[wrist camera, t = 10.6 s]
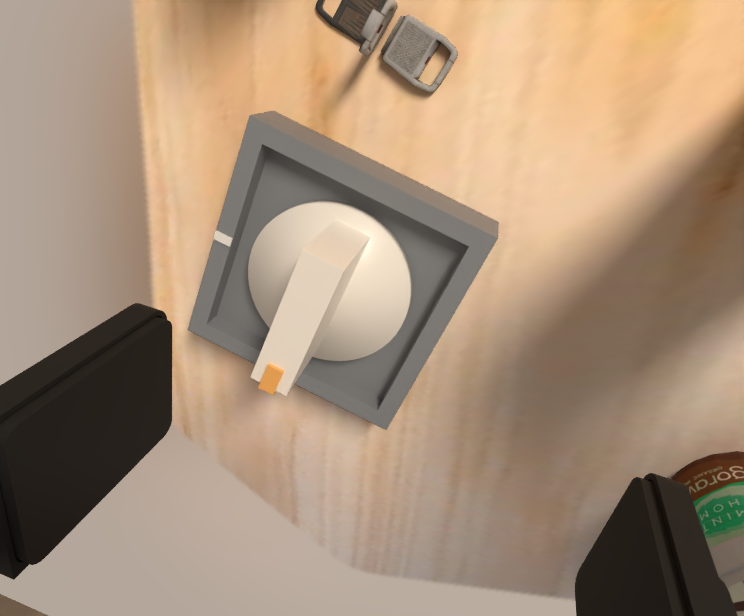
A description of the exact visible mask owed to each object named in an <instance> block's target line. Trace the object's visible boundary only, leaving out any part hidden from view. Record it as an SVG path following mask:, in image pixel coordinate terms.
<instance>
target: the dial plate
mask: <svg viewBox="0 0 744 616" xmlns="http://www.w3.org/2000/svg"><path fill="white" fill-rule="evenodd" d="M317 200H332V201H338V202H343V203H347V204H350V205H353V206H356V207H358V208H360V209H362V210H364V211H366V212H368V213H369V214H371V215H373V216H374V217H375V218H377V219H378V220H379V221H381V222H382V223H383V224H384V225H385V226H386V227H387V228H388V229H389V230H390V231H391V232H392V234H393V235H394V236H395V237H396V239H397V240H398V242H399V243H400V245H401V247H402V248H403V250H404V253H405V255H406V257H407V260H408V263H409V266H410V270H411V276H412V297H411V303H410V306H409V309H408V312H407V315H406V317H405V320H404V322H403V324H402V326H401V328H400V329H399V331H398V332H397V334H396V335H395V336H394V337H393V338H392V340H391V341H390V342H389V343H387V344H386V345H385V346H384V347H383V348H381V349H380V350H378V351H376V352H375V353H373V354H370V355H368V356H366V357H363V358H359V359H355V360H349V361H330V360H323V359H319V358H315V357H312V358H311V360H310V361H309V363H308V364H307V366H306V367H305V369H304V370H303V372H302V373H301V375H300V376H299V378H298V379H297V381H296V382H295V384H296V385H298V386H300V387H302V388H304V389H306V390H308V391H310V392H312V393H314V394H316V395H318V396H320V397H322V398H324V399H326V400H327V401H329V402H331V403H333V404H335V405H337V406H339V407H341V408H343V409H345V410H347V411H349V412H351V413H353V414H355V415H357V416H359V417H361V418H363V419H365V420H367V421H369V422H371V423H373V424H375V425H377V426H379V427H381V428H383V429H385V430H387V428H388V426H389V424H390V423H391V421H392V419H393V418H394V416H395V414H396V412H397V411H398V409H399V407H400V406H401V404H402V402H403V400H404V399H405V397H406V395H407V393H408V392H409V390H410V388H411V387H412V385H413V383H414V381H415V380H416V378H417V376H418V375H419V373H420V371H421V369H422V368H423V366H424V364H425V363H426V361H427V359H428V357H429V356H430V354H431V352H432V351H433V349H434V347H435V345H436V344H437V342H438V340H439V339H440V337H441V335H442V333H443V332H444V330H445V328H446V326H447V325H448V323H449V321H450V320H451V318H452V316H453V314H454V313H455V311H456V309H457V308H458V306H459V304H460V302H461V301H462V299H463V297H464V296H465V294H466V292H467V290H468V289H469V287H470V285H471V284H472V282H473V280H474V278H475V277H476V275H477V273H478V271H479V270H480V268H481V266H482V265H483V263H484V261H485V259H486V258H487V256H488V254H489V253H490V251H491V249H492V247H493V246H494V244H495V242H496V241H497V239H498V223H499V222H497V221H495V220H493V219H491V218H489V217H487V216H485V215H483V214H481V213H479V212H477V211H475V210H473V209H471V208H469V207H467V206H465V205H463V204H461V203H459V202H457V201H455V200H453V199H451V198H449V197H447V196H445V195H443V194H441V193H439V192H437V191H435V190H433V189H431V188H429V187H427V186H424V185H422V184H420V183H418V182H416V181H414V180H412V179H410V178H408V177H406V176H404V175H402V174H400V173H398V172H396V171H394V170H392V169H390V168H388V167H386V166H384V165H382V164H380V163H378V162H376V161H374V160H372V159H370V158H368V157H366V156H364V155H362V154H360V153H358V152H356V151H354V150H352V149H350V148H348V147H346V146H343V145H341V144H339V143H337V142H335V141H333V140H331V139H329V138H327V137H325V136H323V135H321V134H319V133H317V132H315V131H313V130H311V129H309V128H307V127H305V126H303V125H301V124H299V123H297V122H295V121H293V120H291V119H289V118H287V117H285V116H283V115H281V114H279V113H277V112H275V111H270V112H264V113H259V114H254V115H250V116H249V119H248V123H247V126H246V130H245V133H244V137H243V140H242V143H241V147H240V150H239V154H238V157H237V161H236V164H235V168H234V171H233V175H232V178H231V182H230V185H229V188H228V192H227V195H226V199H225V202H224V206H223V209H222V213H221V216H220V220H219V223H218V227H217V230H216V231H215V234H214V238H213V239H214V240H213V244H212V247H211V251H210V254H209V258H208V261H207V265H206V268H205V271H204V275H203V278H202V282H201V285H200V289H199V292H198V296H197V299H196V303H195V306H194V310H193V313H192V316H191V320H190V323H189V327H188V330H189V331H191V332H193V333H195V334H197V335H199V336H201V337H203V338H205V339H207V340H209V341H211V342H213V343H215V344H217V345H219V346H221V347H223V348H225V349H227V350H229V351H230V352H232V353H234V354H236V355H238V356H240V357H242V358H244V359H246V360H248V361H250V362H252V363H254V364H256V362H257V360H258V357H259V355H260V352H261V350H262V347H263V345H264V342H265V340H266V338H267V335H268V333H269V330H270V328H269V327H268V326H267V325H266V323H265V322H264V320H263V319H262V317H261V316H260V314H259V312H258V310H257V308H256V306H255V304H254V301H253V299H252V296H251V292H250V288H249V281H248V264H249V257H250V254H251V250H252V247H253V245H254V243H255V240H256V239H257V237H258V235H259V234H260V232H261V231H262V230H263V229H264V227H265V226H266V225H267V224H268V223H269V222H270V221H271V220H273V219H274V218H275V217H276V216H278V215H280V214H281V213H283V212H284V211H286V210H288V209H289V208H291V207H294V206H296V205H298V204H301V203H305V202H309V201H317Z"/></svg>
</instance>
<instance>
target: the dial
mask: <svg viewBox="0 0 744 616" xmlns="http://www.w3.org/2000/svg"><path fill="white" fill-rule="evenodd" d="M248 281H249V288H250V292H251V296H252V299H253V301H254V304H255V306H256V308H257V310H258V312H259V314H260V316H261V317H262V319H263V320H264V322H265V323H266V325H267V326H268V327H269V328H270V330H269V333H268V335H267V338H266V340H265V342H264V345H263V347H262V350H261V352H260V355H259V357H258V360H257V362H256V365H255V367H254V370H253V372H252V374H251V378H252V379H254V380H256V381H258V382H260V384H259V386H258V388H260V389H262V390H264V391H266V392H268V393H270V394H271V395H274V393H275V391H277V392H279V393H281V394H283V395H285V396H287V394H288V393H289V391H290V390H291V388H292V387H293V385H294V384H295V382H296V381H297V379H298V378H299V376H300V375H301V373H302V372H303V370H304V369H305V367H306V366H307V364H308V363H309V361H310V360H311V358H312V357H315V358H319V359H323V360H330V361H349V360H355V359H359V358H363V357H366V356H368V355H370V354H373V353H375V352H376V351H378V350H380V349H381V348H383V347H384V346H385V345H386V344H387V343H389V342H390V341H391V340H392V338H393V337H394V336H395V335H396V334H397V332H398V331H399V329H400V328H401V326H402V324H403V322H404V320H405V317H406V315H407V312H408V309H409V306H410V303H411V297H412V276H411V270H410V266H409V263H408V260H407V257H406V255H405V253H404V250H403V248H402V247H401V245H400V243H399V242H398V240H397V239H396V237H395V236H394V235H393V234H392V232H391V231H390V230H389V229H388V228H387V227H386V226H385V225H384V224H383V223H382V222H381V221H379V220H378V219H377V218H375V217H374V216H373V215H371V214H369V213H368V212H366V211H364V210H362V209H360V208H358V207H356V206H353V205H350V204H347V203H343V202H338V201H332V200H317V201H309V202H305V203H301V204H298V205H296V206H294V207H291V208H289V209H288V210H286V211H284V212H283V213H281V214H280V215H278V216H276V217H275V218H274V219H273V220H271V221H270V222H269V223H268V224H267V225H266V226H265V227H264V229H263V230H262V231H261V232H260V234H259V235H258V237H257V239H256V240H255V243H254V245H253V247H252V250H251V254H250V257H249V264H248Z"/></svg>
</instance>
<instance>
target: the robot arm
mask: <svg viewBox="0 0 744 616" xmlns="http://www.w3.org/2000/svg"><path fill="white" fill-rule="evenodd" d="M171 422H172V324H171V322H170V321H168V320H167V316H166V314H165V313H164V312H163V311H161V310H158V309H154V308H151V307H148V306H145V305H142V304H138V303H135V304H133V305H131V306H129V307H128V308H126V309H124V310H123V311H121V312H119V313H118V314H117V315H115V316H113V317H111V318H110V319H108V320H107V321H105V322H103V323H102V324H100V325H98V326H97V327H95V328H93V329H92V330H90V331H88V332H87V333H85V334H84V335H82V336H80V337H79V338H77V339H75V340H74V341H72V342H70V343H69V344H67V345H66V346H64V347H62V348H61V349H59V350H58V351H56V352H54V353H53V354H51V355H49V356H48V357H46V358H44V359H43V360H41V361H40V362H38V363H37V364H35V365H33V366H31V367H30V368H28V369H26V370H25V371H23V372H22V373H20V374H18V375H17V376H15V377H13V378H12V379H10V380H9V381H7V382H5V383H4V384H2V385H0V574H3V575H5V576H7V577H9V578H11V579H15V578H16V577H17V576H18V575H19V574H20V573H21V572H22V571H23V570H24V569H25V568H26V567H27V566H28V565H29V564H31V565H34V564H37V563H38V562H40V561H42V559H44V558H45V557H46V556H47V555H48V554H49V553H50V552H51V551H52V550H53V549H54V548H55V547H56V546H57V545H58V544H59V543H60V542H61V541H62V540H63V539H64V538H65V537H66V536H67V534H68V533H70V532H71V531H72V530H73V529H74V527H75V526H76V525H77V524H78V523H79V522H80V521H81V520H82V519H83V518H84V517H85V516H86V515H87V514H88V513H89V512H90V511H91V510H92V509H93V508H94V507H95V506H96V505H97V504H98V503H99V502H100V501H101V500H102V499H103V498H104V497H105V496H106V495H107V494H108V493H109V492H110V491H111V490H112V489H113V488H114V487H115V486H116V485H117V484H118V483H119V482H120V481H121V480H122V479H123V478H124V477H125V476H126V475H127V474H128V473H129V472H130V471H131V470H132V468H134V466H135V465H137V464H138V462H139V461H140V460H141V459H142V458H143V457H144V456H145V455H146V454H147V453H148V452H149V451H150V450H151V449H152V448H153V447H154V446H155V445H156V444H157V443H158V442H159V441H160V440H161V439H162V438H163V437H164V436H165V435H166V433H167V431H168V430H169V427H170V425H171ZM575 598H576V613H577V616H738V615H737V613H736V610H735V607H734V604H733V601H732V598H731V596H730V593H729V591H728V589H727V587H726V585H725V583H724V582H723V581H722V580H721V579H720V578H719V576H718V573H717V570H716V567H715V564H714V562H713V559H712V556H711V553H710V550H709V547H708V544H707V541H706V538H705V535H704V532H703V529H702V527H701V524H700V521H699V518H698V515H697V512H696V509H695V506H694V503H693V500H692V497H691V494H690V492H689V489H688V487H687V486H686V485H685V484H683V483H680V482H677V481H674V480H671V479H668V478H665V477H662V476H659V475H656V474H653V473H649V474H648V475H646V476H645V477H644V479H642V478H639V477H636V478H634V479H633V480H632V482H631V483H630V485H629V486H628V488H627V490H626V491H625V493H624V495H623V496H622V498H621V500H620V502H619V503H618V505H617V507H616V508H615V510H614V512H613V513H612V515H611V517H610V518H609V520H608V522H607V523H606V525H605V527H604V528H603V530H602V532H601V534H600V535H599V537H598V539H597V540H596V542H595V544H594V545H593V547H592V549H591V550H590V552H589V554H588V555H587V557H586V559H585V561H584V562H583V564H582V566H581V567H580V569H579V571H578V574H577V577H576V583H575ZM0 616H47V615H46V614H43V613H41V612H39V611H37V610H34V609H32V608H30V607H28V606H25V605H23V604H21V603H19V602H16V601H14V600H12V599H10V598H8V597H6V596H3V595H1V594H0Z"/></svg>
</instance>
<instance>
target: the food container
mask: <svg viewBox="0 0 744 616" xmlns="http://www.w3.org/2000/svg"><path fill="white" fill-rule="evenodd" d="M671 480H674V481H677V482H680V483H683V484H685V485H686V486H687V487H688V489H689V492H690V494H691V497H692V500H693V503H694V506H695V509H696V512H697V515H698V518H699V521H700V524H701V527H702V529H703V532H704V535H705V538H706V541H707V544H708V547H709V550H710V553H711V556H712V559H713V562H714V564H715V567H716V570H717V573H718V576H719V578H720V579H721V580H722V581H723V582H724V583H725V585H726V587H727V589H728V591H729V593H730V596H731V598H732V601H733V604H734V607H735V610H736V613H737V615H738V616H744V452H738V451H736V452H728V453H720V454H713V455H710V456H707V457H704V458H701V459H699V460H696V461H694V462H692V463H690V464H688V465H687V466H685V467H684V468H682V469H681V470H680V471H678V472H677V473H676V475H675V476H674V477H673V478H672V479H671Z"/></svg>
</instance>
